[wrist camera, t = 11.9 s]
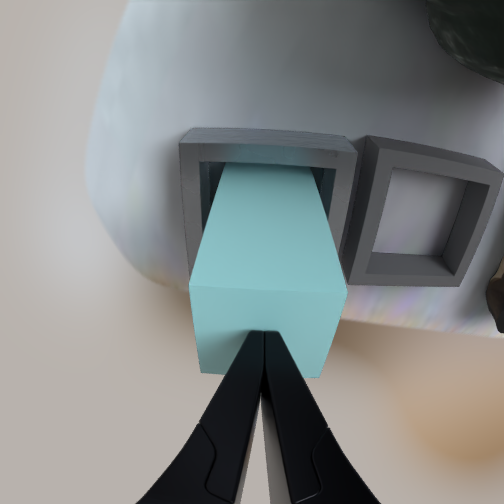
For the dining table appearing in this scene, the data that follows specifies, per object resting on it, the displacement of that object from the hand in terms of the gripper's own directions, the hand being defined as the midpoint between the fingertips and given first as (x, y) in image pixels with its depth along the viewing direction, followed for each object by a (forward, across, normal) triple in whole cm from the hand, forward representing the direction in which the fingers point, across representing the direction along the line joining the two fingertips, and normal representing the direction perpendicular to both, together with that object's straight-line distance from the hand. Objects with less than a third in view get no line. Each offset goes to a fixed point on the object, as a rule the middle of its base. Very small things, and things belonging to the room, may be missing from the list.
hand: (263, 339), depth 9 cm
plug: (+9, 0, 0) cm, 9 cm away
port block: (+9, 0, 0) cm, 9 cm away
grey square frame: (+9, -8, 0) cm, 12 cm away
